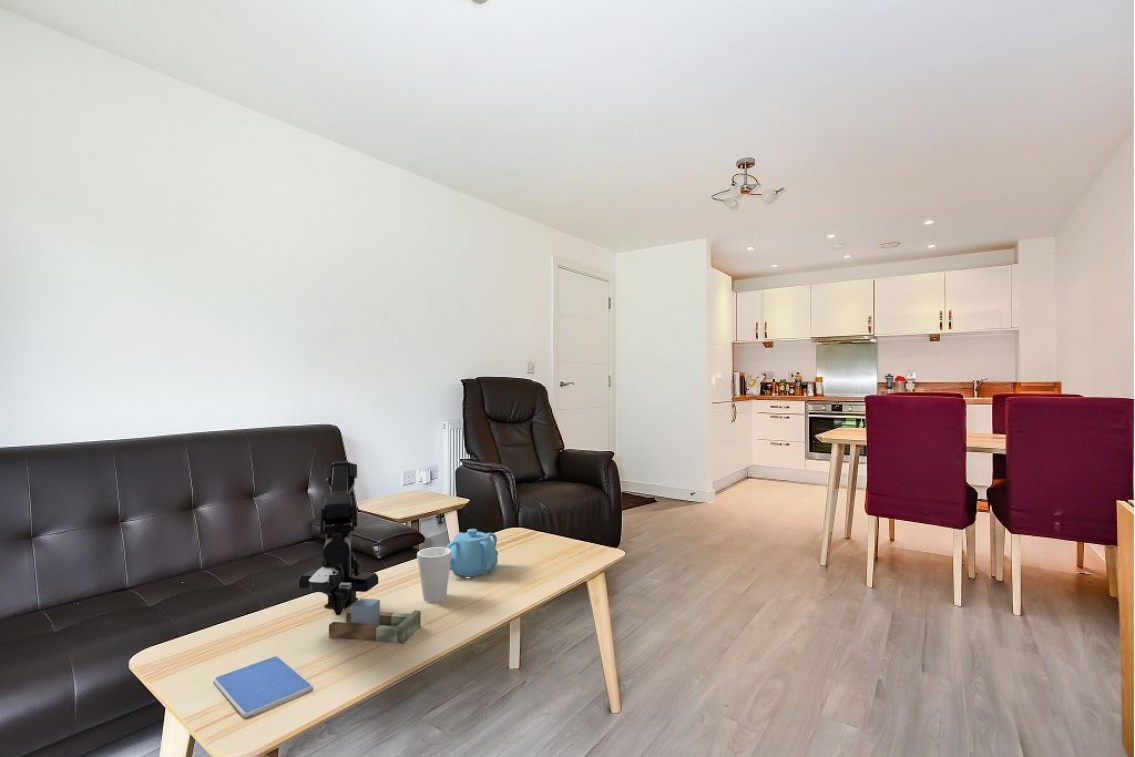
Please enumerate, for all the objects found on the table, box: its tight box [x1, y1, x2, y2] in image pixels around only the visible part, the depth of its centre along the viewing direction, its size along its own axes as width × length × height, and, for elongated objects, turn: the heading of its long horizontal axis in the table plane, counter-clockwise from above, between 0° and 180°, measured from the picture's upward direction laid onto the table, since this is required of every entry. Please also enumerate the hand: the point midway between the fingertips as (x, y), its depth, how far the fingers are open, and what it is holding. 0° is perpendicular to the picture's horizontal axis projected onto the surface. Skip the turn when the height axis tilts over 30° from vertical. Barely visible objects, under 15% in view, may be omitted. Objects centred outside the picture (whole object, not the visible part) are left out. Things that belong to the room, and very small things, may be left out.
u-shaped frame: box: [328, 609, 422, 645], centre depth 129 cm, size 19×9×4 cm, turn 79°
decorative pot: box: [446, 528, 499, 578], centre depth 170 cm, size 16×16×14 cm
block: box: [350, 597, 381, 625], centre depth 129 cm, size 5×4×7 cm
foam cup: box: [416, 546, 451, 603], centre depth 149 cm, size 10×9×13 cm
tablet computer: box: [212, 655, 313, 718], centre depth 106 cm, size 19×13×1 cm, turn 49°
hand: (338, 614), depth 131 cm, fingers closed
